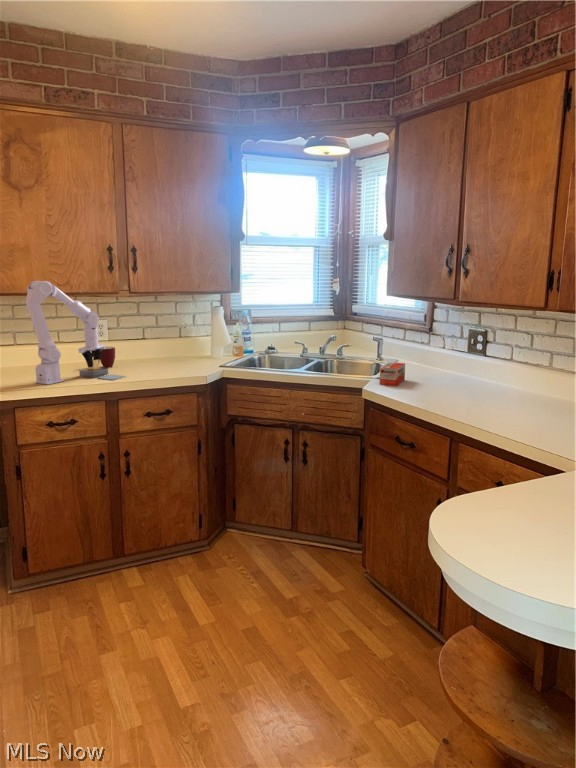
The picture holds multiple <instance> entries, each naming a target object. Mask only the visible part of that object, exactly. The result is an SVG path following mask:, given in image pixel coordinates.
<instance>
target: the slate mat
mask: <svg viewBox="0 0 576 768" xmlns="http://www.w3.org/2000/svg"><path fill="white" fill-rule="evenodd" d="M125 376H126V375H119V374H113V373H112V374H108V375H106V376H102V377H97V378H96V379H97V380H105V379H106V380H105V381H115V380H114V379H116V380H119V379H118V378H120V379H122V378H121V377H124V378H126V377H125Z"/></svg>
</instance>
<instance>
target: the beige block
mask: <svg viewBox="0 0 576 768" xmlns="http://www.w3.org/2000/svg"><path fill="white" fill-rule="evenodd" d="M92 363H93V365H92V367H88V366H87V368H88V370H92V371H95V370H99V368H100V362H99V360H98V359H92Z"/></svg>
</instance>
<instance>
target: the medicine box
mask: <svg viewBox="0 0 576 768" xmlns="http://www.w3.org/2000/svg"><path fill="white" fill-rule="evenodd" d="M405 373H406V363H405V362H392V361H391V362H386V363H384V364H383V365H381V366H380V367H379V384H378V385H380V386H392V387H394V386H395V387H398V386H399V385H400V384H401V383H403V382H404V381H405V375H406V374H405Z"/></svg>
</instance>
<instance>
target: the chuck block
mask: <svg viewBox="0 0 576 768" xmlns="http://www.w3.org/2000/svg"><path fill="white" fill-rule="evenodd" d="M78 373H79V377H80V376H81V377H80V378H88V377H89V378H90V379H97V378H98V377H100V376H102V377H103V376H104V375H106V376H107V374H108V375H109V368H104V367H99V370H95V371H92V370H88V367H87V368H84V369H79V370H78ZM96 377H97V378H96ZM89 378H88V379H89Z"/></svg>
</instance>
